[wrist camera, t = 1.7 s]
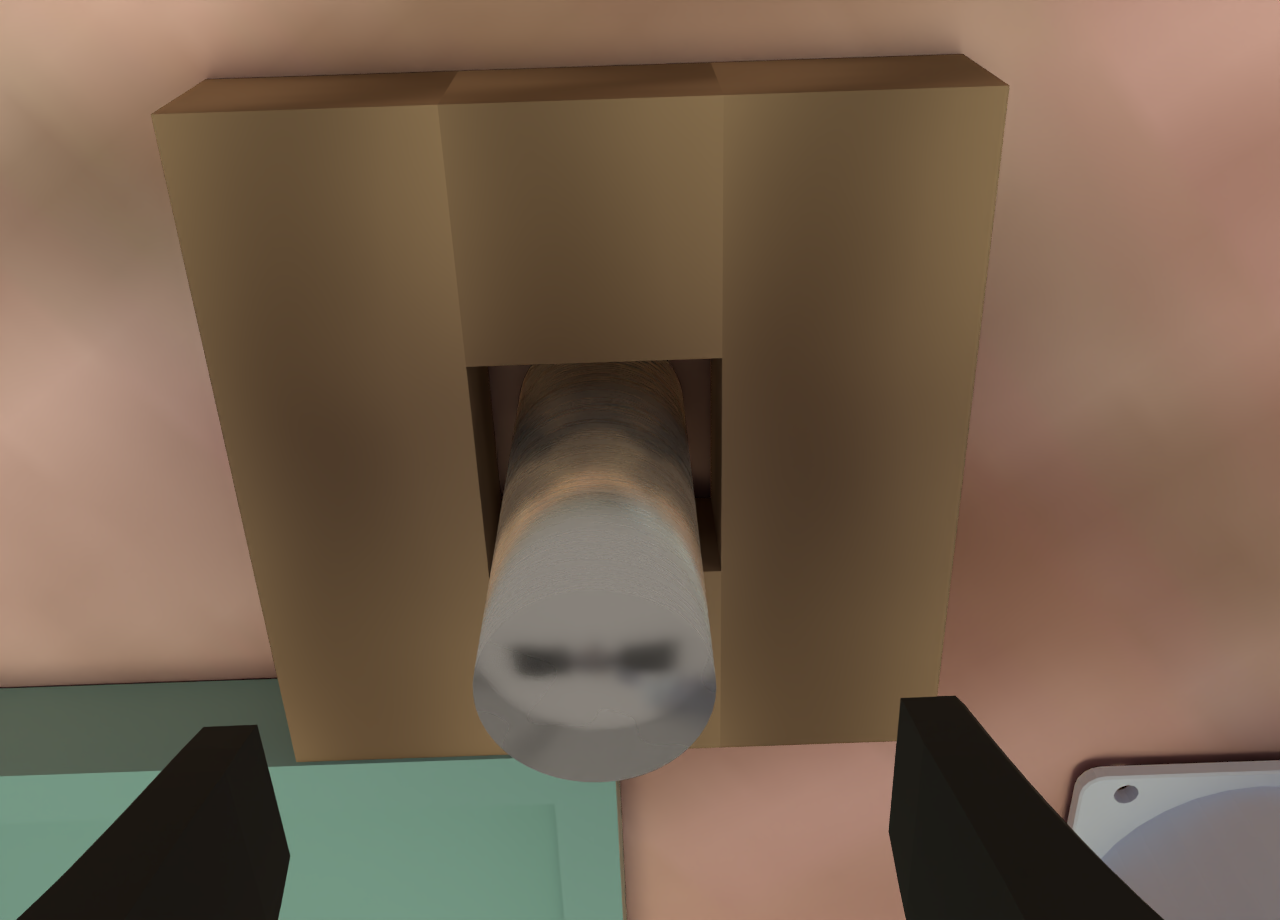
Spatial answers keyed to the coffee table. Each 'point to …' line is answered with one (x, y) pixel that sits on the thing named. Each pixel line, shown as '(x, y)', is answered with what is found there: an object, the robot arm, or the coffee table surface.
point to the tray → (311, 810)
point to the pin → (597, 579)
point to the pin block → (593, 357)
